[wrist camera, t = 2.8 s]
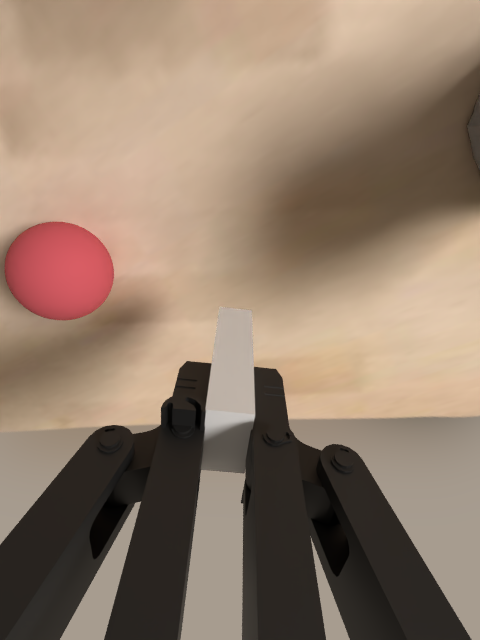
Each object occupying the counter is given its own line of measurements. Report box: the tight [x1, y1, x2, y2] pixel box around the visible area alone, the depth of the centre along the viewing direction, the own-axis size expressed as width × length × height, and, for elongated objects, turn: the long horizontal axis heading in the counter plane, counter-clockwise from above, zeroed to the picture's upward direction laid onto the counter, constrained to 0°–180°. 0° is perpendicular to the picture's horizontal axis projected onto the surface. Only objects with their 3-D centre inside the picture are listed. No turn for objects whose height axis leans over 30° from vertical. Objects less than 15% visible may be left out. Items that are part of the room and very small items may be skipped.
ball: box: [5, 222, 114, 320], centre depth 20 cm, size 6×6×6 cm
